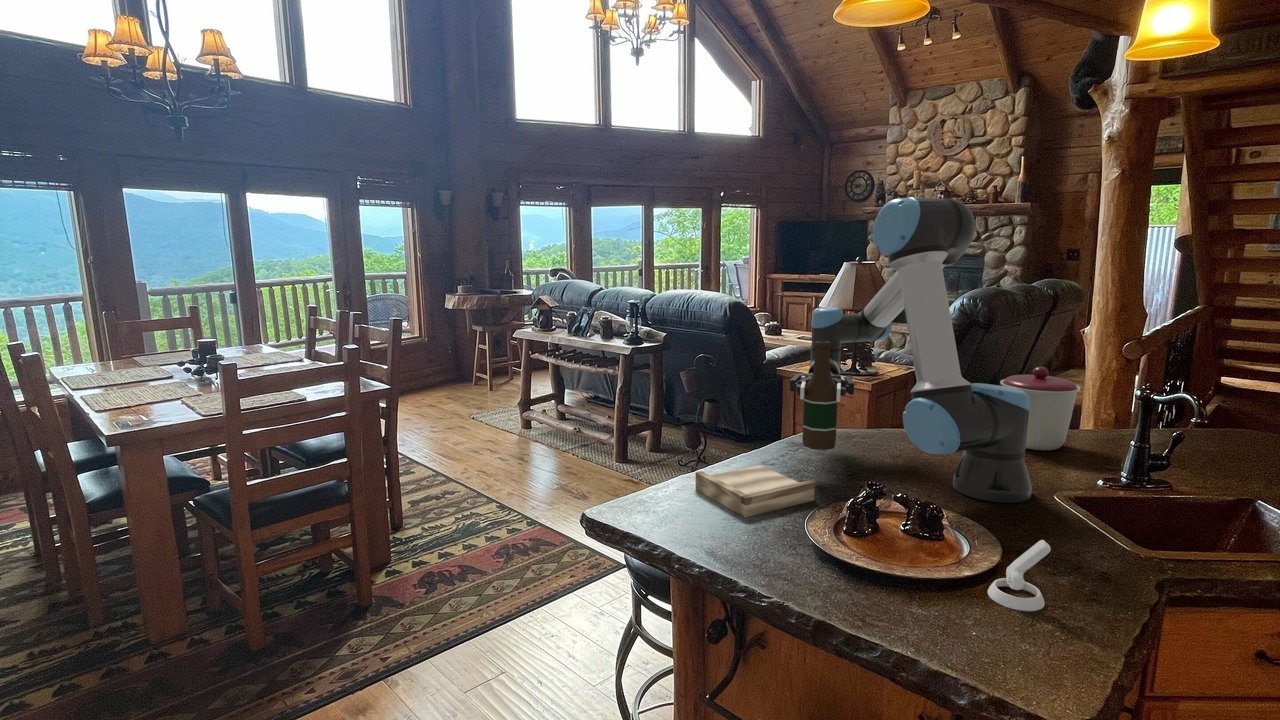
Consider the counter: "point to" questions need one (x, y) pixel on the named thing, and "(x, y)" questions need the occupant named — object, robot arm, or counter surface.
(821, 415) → the beer bottle
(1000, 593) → the white ring with handle
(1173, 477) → the counter surface
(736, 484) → the wooden tray
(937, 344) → the robot arm
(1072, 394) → the canister
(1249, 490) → the counter surface
